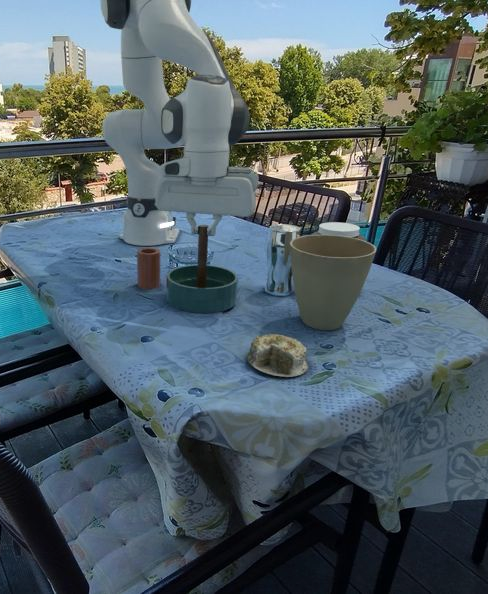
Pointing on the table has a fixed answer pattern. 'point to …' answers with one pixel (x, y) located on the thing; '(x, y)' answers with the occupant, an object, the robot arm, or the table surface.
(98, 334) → the table surface
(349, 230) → the jar
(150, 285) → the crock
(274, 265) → the shiny metal cylinder
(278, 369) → the cake
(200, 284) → the stirring stick
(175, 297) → the bowl
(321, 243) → the plant pot
